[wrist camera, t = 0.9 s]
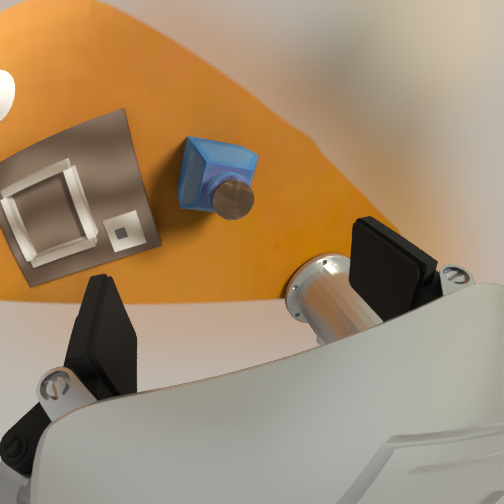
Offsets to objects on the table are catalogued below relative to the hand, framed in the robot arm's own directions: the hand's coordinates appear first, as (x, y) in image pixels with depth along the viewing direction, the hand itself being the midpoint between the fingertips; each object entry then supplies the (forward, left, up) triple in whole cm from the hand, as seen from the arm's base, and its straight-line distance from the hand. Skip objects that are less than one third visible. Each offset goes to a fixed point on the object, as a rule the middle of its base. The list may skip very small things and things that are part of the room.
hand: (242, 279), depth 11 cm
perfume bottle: (-2, -2, -24) cm, 24 cm away
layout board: (-1, +15, -24) cm, 28 cm away
